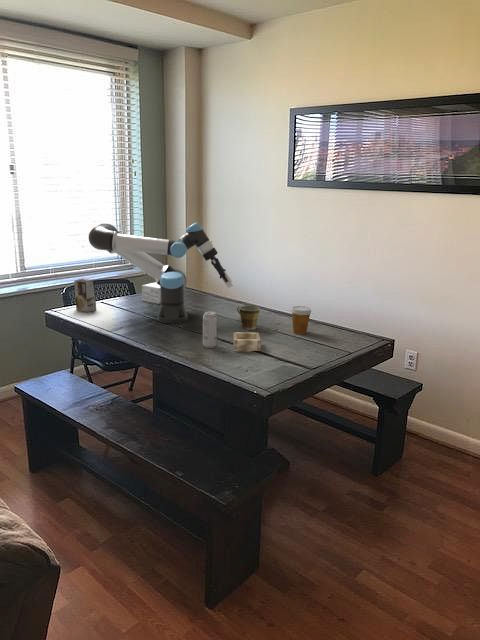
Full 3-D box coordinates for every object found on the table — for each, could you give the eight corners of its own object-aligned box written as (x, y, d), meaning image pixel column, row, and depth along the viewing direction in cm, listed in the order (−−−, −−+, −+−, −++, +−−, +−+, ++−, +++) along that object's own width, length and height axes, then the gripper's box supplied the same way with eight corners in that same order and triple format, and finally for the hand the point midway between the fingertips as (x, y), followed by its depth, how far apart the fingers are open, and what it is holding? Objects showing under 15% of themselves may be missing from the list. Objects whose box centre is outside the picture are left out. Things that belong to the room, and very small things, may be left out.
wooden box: (234, 351, 224) (234, 340, 223) (233, 343, 235) (233, 332, 233) (260, 351, 225) (260, 340, 223) (257, 343, 235) (258, 332, 234)
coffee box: (96, 309, 282) (95, 280, 277) (87, 312, 277) (85, 282, 272) (85, 307, 287) (83, 278, 282) (75, 309, 281) (73, 280, 277)
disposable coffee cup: (311, 331, 255) (313, 307, 252) (307, 336, 247) (309, 311, 243) (292, 328, 258) (293, 304, 255) (287, 334, 249) (289, 309, 246)
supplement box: (159, 304, 298) (158, 288, 295) (141, 300, 304) (141, 284, 302) (178, 298, 311) (178, 283, 309) (161, 295, 318) (161, 280, 315)
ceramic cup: (263, 328, 258) (264, 308, 255) (249, 332, 251) (250, 311, 248) (243, 322, 266) (244, 303, 264) (230, 326, 259) (230, 306, 257)
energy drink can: (218, 347, 228) (218, 314, 224) (204, 348, 226) (204, 315, 222) (214, 343, 233) (215, 310, 229) (201, 344, 232) (201, 311, 228)
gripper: (214, 248, 259) (237, 284, 264) (213, 244, 284) (235, 277, 288) (201, 257, 260) (224, 292, 264) (202, 252, 284) (223, 285, 289)
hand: (230, 285), depth 276 cm, fingers open, 13 cm apart
